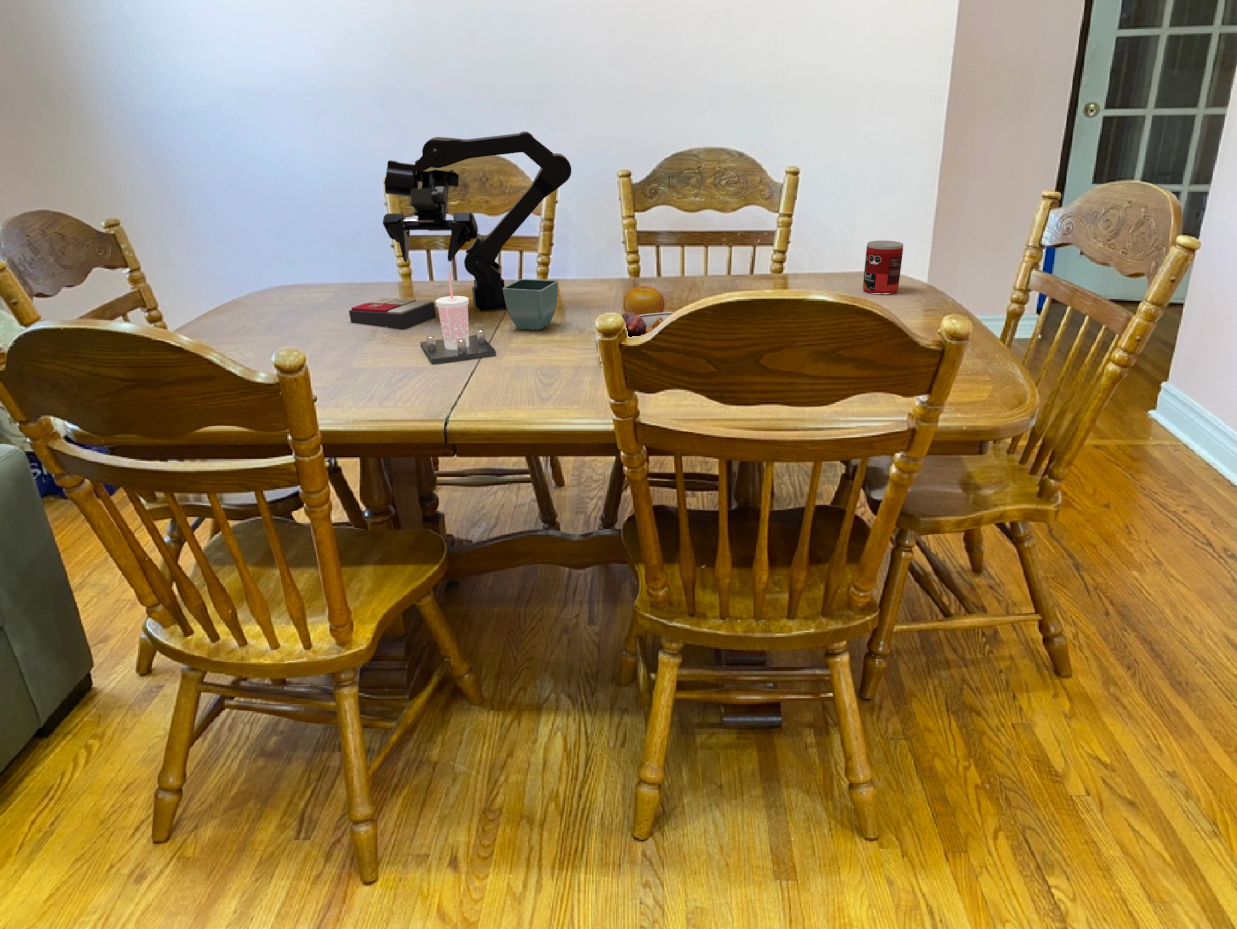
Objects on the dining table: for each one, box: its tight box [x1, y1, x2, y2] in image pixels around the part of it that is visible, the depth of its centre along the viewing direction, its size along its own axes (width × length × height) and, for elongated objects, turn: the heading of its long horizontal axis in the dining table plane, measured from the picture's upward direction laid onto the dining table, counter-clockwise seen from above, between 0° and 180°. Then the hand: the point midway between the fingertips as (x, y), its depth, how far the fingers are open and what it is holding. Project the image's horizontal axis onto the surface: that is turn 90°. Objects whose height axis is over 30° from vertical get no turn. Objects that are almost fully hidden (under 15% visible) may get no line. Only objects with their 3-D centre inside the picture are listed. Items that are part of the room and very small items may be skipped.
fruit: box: [622, 285, 666, 315], centre depth 178 cm, size 8×8×8 cm
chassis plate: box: [419, 328, 497, 365], centre depth 161 cm, size 12×12×4 cm
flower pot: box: [503, 278, 559, 331], centre depth 174 cm, size 9×9×9 cm
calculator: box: [348, 297, 437, 331], centre depth 183 cm, size 11×4×15 cm
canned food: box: [862, 240, 904, 294], centre depth 194 cm, size 8×8×11 cm
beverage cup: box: [435, 272, 470, 350], centre depth 158 cm, size 6×6×14 cm
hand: (426, 260), depth 173 cm, fingers open, 9 cm apart
